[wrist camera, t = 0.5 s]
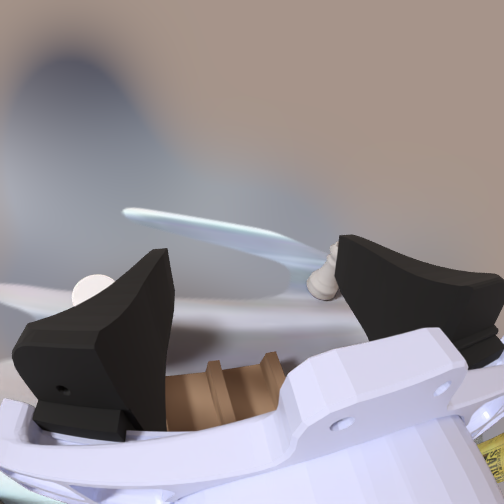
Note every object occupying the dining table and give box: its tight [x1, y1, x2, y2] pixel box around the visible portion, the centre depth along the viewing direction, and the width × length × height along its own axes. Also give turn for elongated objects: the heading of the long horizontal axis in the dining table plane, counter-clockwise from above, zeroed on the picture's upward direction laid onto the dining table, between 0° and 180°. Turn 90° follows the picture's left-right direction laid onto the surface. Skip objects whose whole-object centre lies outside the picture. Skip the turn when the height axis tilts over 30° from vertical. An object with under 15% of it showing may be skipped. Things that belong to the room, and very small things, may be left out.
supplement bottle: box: [72, 275, 115, 306], centre depth 23 cm, size 5×5×10 cm
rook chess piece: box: [307, 241, 339, 300], centre depth 37 cm, size 4×4×8 cm
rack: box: [165, 352, 286, 432], centre depth 21 cm, size 15×13×4 cm
